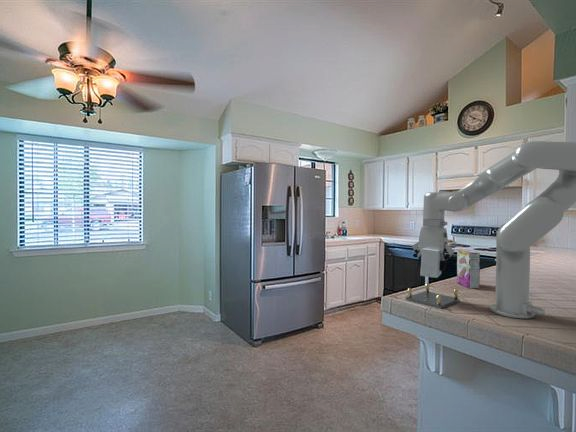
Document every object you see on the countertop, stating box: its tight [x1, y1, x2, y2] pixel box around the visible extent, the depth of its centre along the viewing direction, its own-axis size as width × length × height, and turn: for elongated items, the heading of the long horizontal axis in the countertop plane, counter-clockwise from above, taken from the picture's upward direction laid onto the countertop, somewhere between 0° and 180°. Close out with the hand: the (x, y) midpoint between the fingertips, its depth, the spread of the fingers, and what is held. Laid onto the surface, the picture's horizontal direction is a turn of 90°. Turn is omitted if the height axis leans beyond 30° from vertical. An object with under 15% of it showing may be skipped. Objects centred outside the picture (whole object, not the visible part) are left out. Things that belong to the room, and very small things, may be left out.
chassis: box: [405, 282, 461, 310], centre depth 123 cm, size 14×15×4 cm
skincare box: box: [419, 248, 442, 279], centre depth 123 cm, size 10×6×10 cm, turn 146°
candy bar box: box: [456, 248, 481, 290], centre depth 146 cm, size 11×5×16 cm, turn 179°
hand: (431, 268), depth 123 cm, fingers closed on skincare box, 7 cm apart
